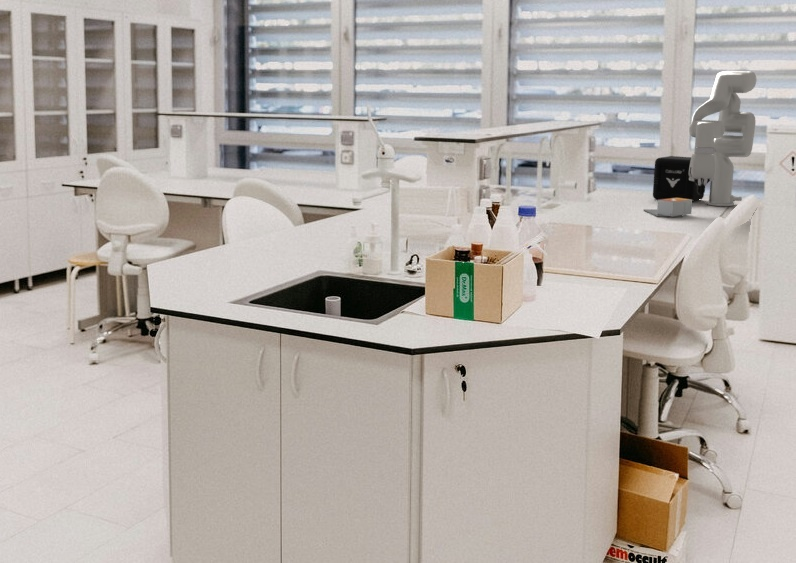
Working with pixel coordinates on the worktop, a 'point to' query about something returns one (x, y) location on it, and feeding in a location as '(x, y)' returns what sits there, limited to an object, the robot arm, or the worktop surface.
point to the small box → (674, 206)
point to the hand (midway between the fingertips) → (700, 194)
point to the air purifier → (674, 179)
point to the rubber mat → (654, 212)
